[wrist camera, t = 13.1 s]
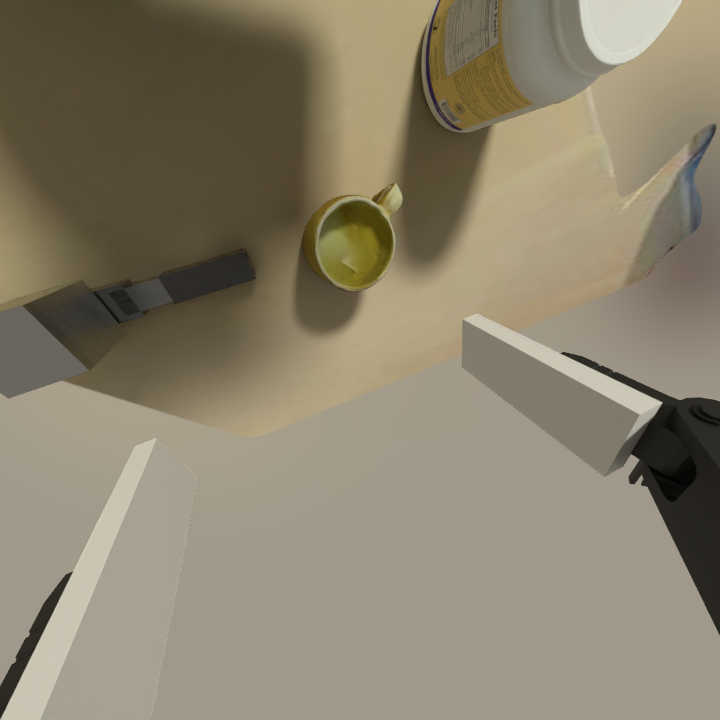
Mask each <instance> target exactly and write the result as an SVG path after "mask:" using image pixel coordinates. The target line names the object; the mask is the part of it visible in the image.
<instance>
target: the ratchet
mask: <svg viewBox="0 0 720 720" xmlns="http://www.w3.org/2000/svg"><path fill="white" fill-rule="evenodd" d="M254 279H256V274H255V272H254V269H253V267H252V265H251V262H250V260H249V258H248V256H247V253H246V251H245V249H242V250H239V251H235V252H232V253H229V254H225V255H222V256H218V257H215V258H211V259H208V260H204V261H201V262H197V263H194V264H190V265H187V266H183V267H180V268H176V269H173V270H169V271H166V272H163V273H162V274H161V275H159V276H156V277H152V278H149V279H145V280H142V281H138V282H135V283H131V282H130V280H129V279H127V280H123V281H119V282H116V283H112V284H109V285H105V286H102V287H98V288H95V289H90V290H91V291H92V292H93V294H94V295H95V296H96V297H97V298H98V300H99V301H100V302H101V303H102V304H103V306H104V307H105V308H106V309H107V310H108V311H109V313H110V314H111V315H112V316H113V317H114V319H115V320H116V321H117V322H118V323H122V322H125V321H129V320H132V319H135V318H138V317H141V316H144V315H145V314H146V313H147V312H148V311H149V310H150V309H151V308H154V307H157V306H161V305H164V304H167V303H170V302H174V303H175V304H176V303H179V302H182V301H185V300H189V299H192V298H195V297H198V296H202V295H205V294H208V293H211V292H215V291H218V290H221V289H224V288H228V287H231V286H234V285H237V284H241V283H244V282H247V281H250V280H254Z"/></svg>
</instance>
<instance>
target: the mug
mask: <svg viewBox="0 0 720 720" xmlns="http://www.w3.org/2000/svg"><path fill="white" fill-rule="evenodd" d="M402 200H403V197H402V194H401V192H400V189H399V187H398V185H397V184H396V183H394V184H391V185H389V186H388V187H386V188H385V189H383V190H382V191H381V192H379V193H378V194H377V195H375V196H374V197H373V199H372V200H370V199H368V198H367V197H364V196H360V195H345V196H339V197H336V198H334V199H332V200H330V201H328V202H327V203H325V204H324V205H323V206H322V207H321V208H320V209H319V210H318V211H316V212H315V213H314V215H313V216H312V217H311V218H310V220H309V221H308V223H307V225H306V227H305V231H304V235H303V249H304V253H305V257H306V259H307V261H308V263H309V265H310V267H311V268H312V269H313V270H314V271H315V272H316V273H317V274H318V275H319V276H321V277H322V278H323V279H324V280H326V281H327V282H329V283H330V284H332V285H333V286H335V287H337V288H339V289H341V290H344V291H347V292H359V291H362V290H365V289H368V288H370V287H372V286H373V285H375V284H376V283H377V282H378V281H379V280H381V279H382V277H383V276H384V275H385V273H386V272H387V270H388V269H389V267H390V265H391V263H392V260H393V257H394V253H395V234H394V231H393V228H392V225H391V223H390V220H389V219H390V217H391V216H392V215H393V214H394V213H395V212H397V210H398V209H399V207H400V206H401V205H402Z"/></svg>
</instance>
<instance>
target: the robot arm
mask: <svg viewBox="0 0 720 720" xmlns="http://www.w3.org/2000/svg"><path fill="white" fill-rule="evenodd" d="M462 368H464V369H465V370H466V371H468V372H469V373H470V374H472V375H473V376H474V377H475V378H477V379H478V380H479V381H481V382H482V383H483V384H485V385H486V386H487V387H488V388H490V389H491V390H492V391H494V392H495V393H496V394H498V395H499V396H500V397H501V398H503V399H504V400H505V401H506V402H508V403H509V404H510V405H512V406H513V407H514V408H516V409H517V410H518V411H520V412H521V413H522V414H523V415H525V416H526V417H527V418H529V419H530V420H531V421H533V422H534V423H535V424H536V425H538V426H539V427H540V428H542V429H543V430H544V431H545V432H547V433H548V434H549V435H551V436H552V437H553V438H555V439H556V440H557V441H559V442H560V443H561V444H563V445H564V446H565V447H566V448H568V449H569V450H570V451H571V452H573V453H574V454H575V455H577V456H578V457H579V458H581V459H582V460H583V461H584V462H586V463H587V464H588V465H590V466H591V467H592V468H593V469H595V470H596V471H598V472H599V473H600V474H601V475H603V476H604V477H605V476H607V475H609V474H610V473H612V472H614V471H616V470H618V469H619V468H621V467H623V466H624V464H625V463H626V461H627V459H628V458H629V456H630V455H631V454H632V455H634V456H635V457H637V458H638V459H640V460H639V462H638V463H637V465H636V466H635V468H634V469H633V471H632V472H631V474H630V476H629V482H630V484H635V483H636V481H637V480H638V478H639V477H640V476H641V475H642V476H643V478H644V479H643V480H642V483H641V485H642V486H647V487H648V489H649V491H650V493H651V495H652V497H653V499H654V501H655V503H656V505H657V507H658V509H659V511H660V513H661V515H662V517H663V520H664V522H665V524H666V526H667V528H668V530H669V532H670V534H671V536H672V538H673V540H674V542H675V544H676V546H677V548H678V550H679V552H680V555H681V557H682V559H683V561H684V563H685V565H686V567H687V569H688V571H689V573H690V575H691V577H692V579H693V581H694V583H695V585H696V587H697V589H698V591H699V594H700V596H701V597H702V600H703V602H704V603H705V606H706V608H707V610H708V612H709V614H710V616H711V618H712V620H713V622H714V624H715V626H716V628H717V630H718V633H719V634H720V402H719V401H716V400H712V399H705V398H685V399H683V400H678V399H675V398H673V397H670V396H668V395H666V394H663V393H661V392H659V391H657V390H654V389H652V388H650V387H648V386H646V385H644V384H641V383H639V382H637V381H635V380H633V379H630V378H628V377H626V376H624V375H621V374H619V373H617V372H615V373H614V372H613V371H612V370H611V369H609V368H606V367H604V366H599V364H598V363H595V362H593V361H591V360H589V359H587V358H584V357H582V356H578V355H574V354H570V353H566V352H563V353H558V352H556V351H554V350H552V349H549V348H548V347H545V346H543V345H541V344H539V343H537V342H535V341H533V340H531V339H529V338H527V337H524V336H523V335H520V334H518V333H516V332H514V331H512V330H510V329H508V328H506V327H504V326H502V325H500V324H498V323H495V322H493V321H491V320H489V319H487V318H485V317H483V316H481V315H479V314H475V315H472V316H470V317H467V318H464V319H463V329H462ZM198 481H199V478H198V477H197V476H196V475H195V474H194V473H193V472H192V471H191V470H190V469H189V468H188V467H187V466H186V465H185V464H184V463H183V462H182V461H181V460H180V459H179V458H178V457H177V456H176V455H175V454H174V453H173V452H172V451H171V450H170V449H169V448H168V447H167V446H166V445H165V444H164V443H163V442H162V441H161V440H160V439H159V438H154V439H151V440H149V441H146V442H144V443H141V444H138V445H136V446H135V447H134V449H133V451H132V453H131V455H130V457H129V459H128V462H127V463H126V465H125V468H124V470H123V472H122V474H121V476H120V478H119V480H118V482H117V484H116V486H115V488H114V490H113V492H112V494H111V496H110V498H109V500H108V502H107V504H106V506H105V508H104V510H103V512H102V514H101V516H100V518H99V521H98V522H97V524H96V527H95V528H94V531H93V533H92V535H91V537H90V539H89V541H88V543H87V545H86V547H85V549H84V551H83V553H82V555H81V557H80V559H79V561H78V563H77V565H76V567H75V569H74V571H73V572H71V573H69V574H66V575H65V576H64V578H63V579H62V580H61V581H60V583H59V584H58V585H57V587H56V588H55V589H54V591H53V592H52V593H51V595H50V596H49V597H48V599H47V600H46V601H45V603H44V604H43V606H42V608H41V610H40V612H39V614H38V616H37V618H36V620H35V621H34V623H33V625H32V627H31V629H30V631H29V632H30V635H29V637H27V638H26V639H25V640H24V642H23V644H22V646H21V648H20V650H19V652H18V654H17V656H16V659H17V660H16V662H15V663H14V664H12V665H11V667H10V669H9V671H8V673H7V674H6V676H5V678H4V680H3V682H2V684H1V686H0V720H151V718H152V713H153V708H154V703H155V698H156V693H157V688H158V682H159V678H160V673H161V667H162V662H163V657H164V652H165V647H166V642H167V637H168V632H169V627H170V622H171V617H172V612H173V607H174V602H175V597H176V592H177V587H178V581H179V577H180V572H181V567H182V562H183V557H184V552H185V546H186V542H187V537H188V531H189V526H190V521H191V516H192V511H193V505H194V501H195V496H196V491H197V486H198Z"/></svg>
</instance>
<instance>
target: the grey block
mask: <svg viewBox="0 0 720 720" xmlns="http://www.w3.org/2000/svg"><path fill="white" fill-rule="evenodd" d="M126 334H127V333H126V332H125V331H124V329H123V328H122V327H121V326H120V325H119V323H118V322H117V321H116V320H115V319H114V317H113V316H112V315H111V314H110V313H109V311H108V310H107V309H106V308H105V307H104V306H103V304H102V303H101V302H100V301H99V300H98V298H97V297H96V296H95V295H94V294H93V292H92V291H91V290H90V289H89V288H88V286H87V285H86V284H85V283H84V282H83V280H80V281H76V282H73V283H69V284H66V285H62V286H59V287H55V288H52V289H48V290H45V291H41V292H38V293H34V294H31V295H27V296H24V297H20V298H17V299H13V300H10V301H7V302H5V303H2V304H0V393H1V394H3V395H4V396H6V397H7V398H11V397H14V396H17V395H20V394H23V393H26V392H29V391H32V390H35V389H38V388H41V387H43V386H46V385H49V384H52V383H55V382H58V381H61V380H64V379H67V378H70V377H73V376H76V375H79V374H82V373H85V372H88V371H90V370H91V369H92V368H93V367H94V366H95V365H96V364H97V363H98V362H99V361H100V360H101V359H102V358H103V357H104V356H105V355H106V354H107V353H108V352H109V351H110V350H111V349H112V348H113V347H114V346H115V345H116V344H117V343H118V342H119V341H120V340H121V339H122V338H123V337H124V336H125V335H126Z"/></svg>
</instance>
